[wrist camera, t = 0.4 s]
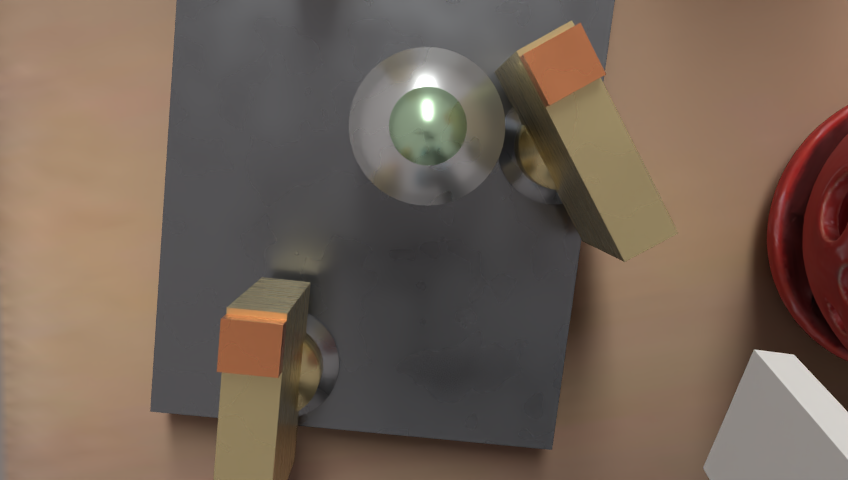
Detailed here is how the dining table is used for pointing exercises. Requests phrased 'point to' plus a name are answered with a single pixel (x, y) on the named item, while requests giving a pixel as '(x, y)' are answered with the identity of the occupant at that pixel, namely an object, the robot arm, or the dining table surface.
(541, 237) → the levelling plate
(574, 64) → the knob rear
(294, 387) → the knob
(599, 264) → the dining table surface
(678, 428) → the dining table surface
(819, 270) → the plant pot
